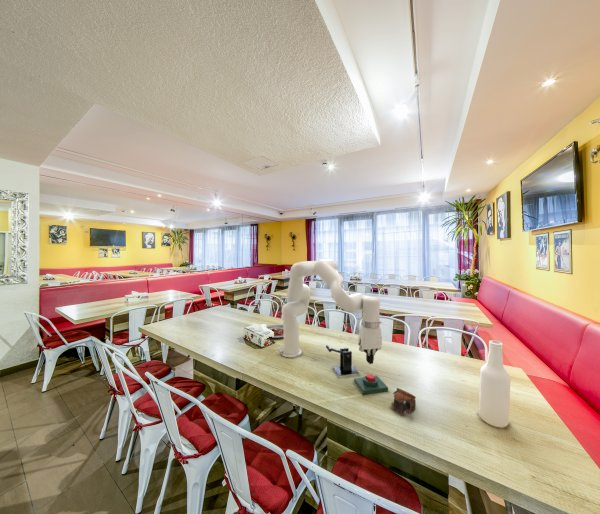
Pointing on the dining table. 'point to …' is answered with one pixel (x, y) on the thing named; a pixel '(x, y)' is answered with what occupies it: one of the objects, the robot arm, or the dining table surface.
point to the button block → (371, 385)
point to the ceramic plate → (277, 330)
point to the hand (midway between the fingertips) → (369, 362)
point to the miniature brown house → (399, 402)
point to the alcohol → (494, 388)
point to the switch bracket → (345, 363)
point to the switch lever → (334, 350)
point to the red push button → (370, 377)
